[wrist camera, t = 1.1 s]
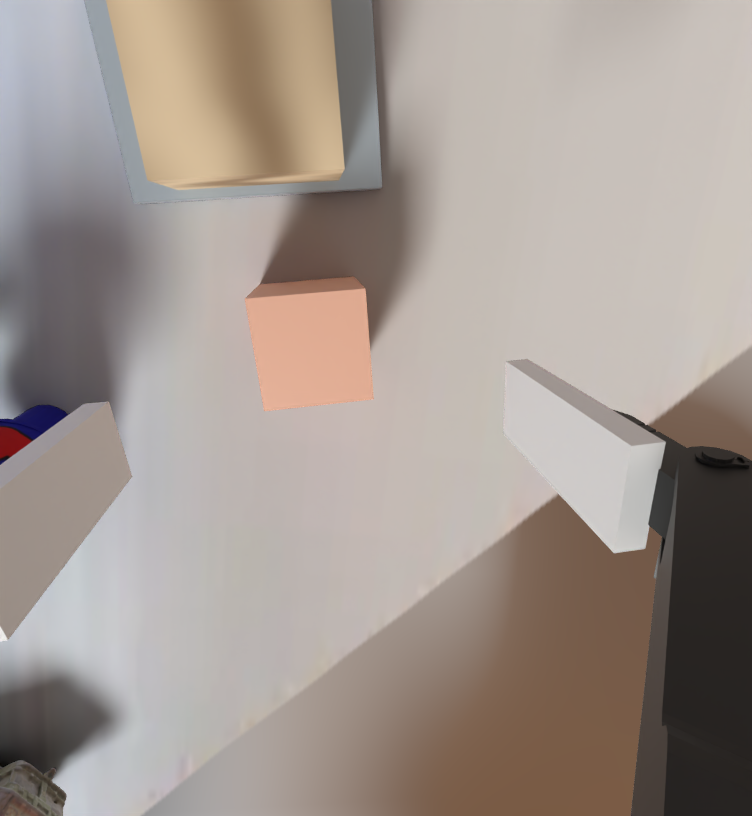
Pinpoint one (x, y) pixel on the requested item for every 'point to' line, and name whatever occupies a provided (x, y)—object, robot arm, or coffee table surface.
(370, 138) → the board
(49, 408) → the toy
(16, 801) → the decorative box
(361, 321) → the salmon pink block
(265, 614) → the coffee table surface
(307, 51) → the oak brick
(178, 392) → the coffee table surface
